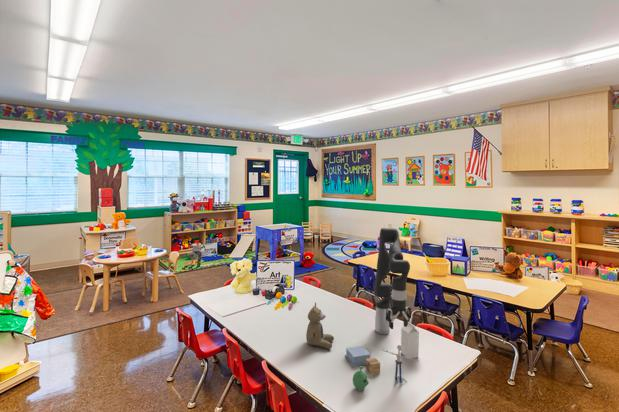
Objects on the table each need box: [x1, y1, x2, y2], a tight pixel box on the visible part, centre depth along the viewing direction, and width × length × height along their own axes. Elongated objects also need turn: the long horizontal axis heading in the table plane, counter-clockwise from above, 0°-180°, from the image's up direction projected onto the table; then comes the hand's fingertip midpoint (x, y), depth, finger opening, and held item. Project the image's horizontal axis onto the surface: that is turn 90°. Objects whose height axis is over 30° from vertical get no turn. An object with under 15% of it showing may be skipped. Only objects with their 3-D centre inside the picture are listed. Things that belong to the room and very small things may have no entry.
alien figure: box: [380, 344, 418, 385], centre depth 158 cm, size 20×5×19 cm, turn 55°
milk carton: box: [400, 321, 420, 359], centre depth 183 cm, size 7×7×19 cm
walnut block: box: [365, 356, 381, 375], centre depth 168 cm, size 6×6×6 cm
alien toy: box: [352, 365, 370, 391], centre depth 152 cm, size 7×8×10 cm
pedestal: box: [344, 345, 371, 368], centre depth 178 cm, size 11×11×5 cm
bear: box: [305, 301, 335, 350], centre depth 195 cm, size 21×16×25 cm
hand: (398, 327), depth 167 cm, fingers open, 8 cm apart
